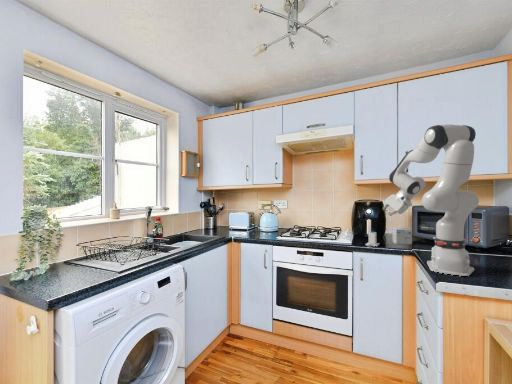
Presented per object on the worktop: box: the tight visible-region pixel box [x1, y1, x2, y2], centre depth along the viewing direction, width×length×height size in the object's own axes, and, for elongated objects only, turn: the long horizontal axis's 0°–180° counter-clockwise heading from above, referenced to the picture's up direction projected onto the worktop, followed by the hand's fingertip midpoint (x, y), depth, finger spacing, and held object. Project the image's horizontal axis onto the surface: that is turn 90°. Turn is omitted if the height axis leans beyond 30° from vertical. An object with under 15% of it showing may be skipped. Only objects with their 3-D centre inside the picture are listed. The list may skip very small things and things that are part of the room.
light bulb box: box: [392, 227, 413, 245], centre depth 176 cm, size 11×7×11 cm, turn 84°
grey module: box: [368, 231, 377, 245], centre depth 173 cm, size 4×4×8 cm
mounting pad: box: [365, 241, 380, 247], centre depth 173 cm, size 9×7×1 cm
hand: (386, 212), depth 167 cm, fingers open, 8 cm apart
